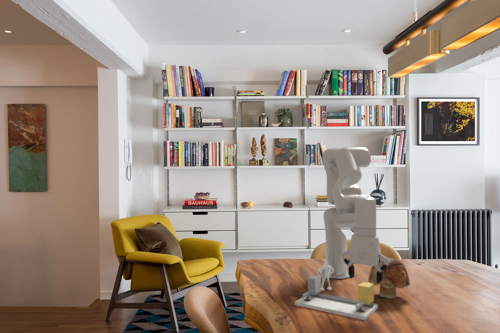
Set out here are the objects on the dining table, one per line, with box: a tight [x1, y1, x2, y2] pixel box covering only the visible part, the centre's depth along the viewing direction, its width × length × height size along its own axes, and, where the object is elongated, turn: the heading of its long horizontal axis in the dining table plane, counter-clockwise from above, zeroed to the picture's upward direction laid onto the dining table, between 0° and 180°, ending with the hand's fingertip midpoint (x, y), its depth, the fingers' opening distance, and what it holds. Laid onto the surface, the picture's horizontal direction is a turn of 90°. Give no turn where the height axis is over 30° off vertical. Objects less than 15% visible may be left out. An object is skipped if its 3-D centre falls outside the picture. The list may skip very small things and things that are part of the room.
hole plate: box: [294, 296, 379, 321], centre depth 140 cm, size 14×26×1 cm, turn 55°
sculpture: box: [367, 257, 411, 299], centre depth 150 cm, size 15×16×15 cm
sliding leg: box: [356, 281, 375, 311], centre depth 134 cm, size 12×4×7 cm, turn 145°
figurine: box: [317, 260, 334, 292], centre depth 160 cm, size 7×4×12 cm, turn 108°
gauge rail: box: [301, 274, 375, 308], centre depth 140 cm, size 12×25×7 cm, turn 55°
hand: (365, 279), depth 138 cm, fingers open, 9 cm apart
